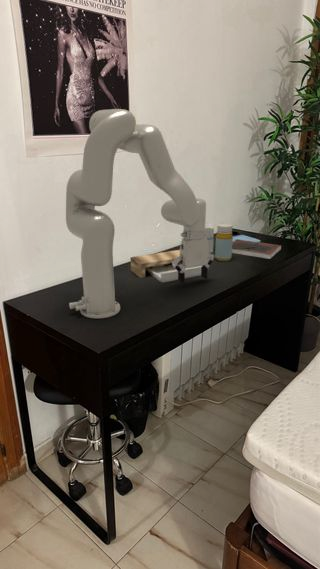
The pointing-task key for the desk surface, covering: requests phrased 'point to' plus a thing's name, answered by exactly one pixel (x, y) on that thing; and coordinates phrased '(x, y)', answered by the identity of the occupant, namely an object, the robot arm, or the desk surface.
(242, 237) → the waterproof phone case
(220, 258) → the bottle
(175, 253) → the oak overhang
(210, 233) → the ink box
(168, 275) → the white flat rectangular tray
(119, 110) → the robot arm
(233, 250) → the book
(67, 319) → the desk surface
